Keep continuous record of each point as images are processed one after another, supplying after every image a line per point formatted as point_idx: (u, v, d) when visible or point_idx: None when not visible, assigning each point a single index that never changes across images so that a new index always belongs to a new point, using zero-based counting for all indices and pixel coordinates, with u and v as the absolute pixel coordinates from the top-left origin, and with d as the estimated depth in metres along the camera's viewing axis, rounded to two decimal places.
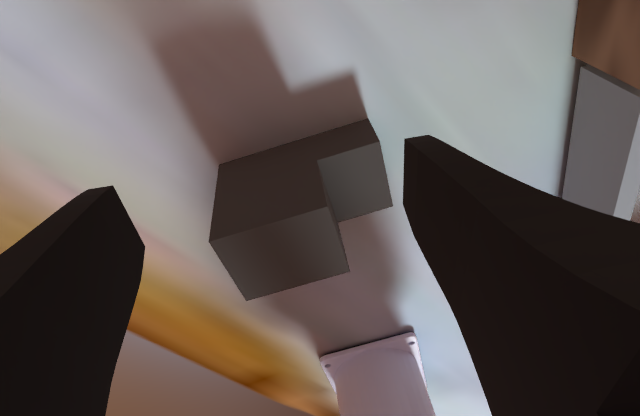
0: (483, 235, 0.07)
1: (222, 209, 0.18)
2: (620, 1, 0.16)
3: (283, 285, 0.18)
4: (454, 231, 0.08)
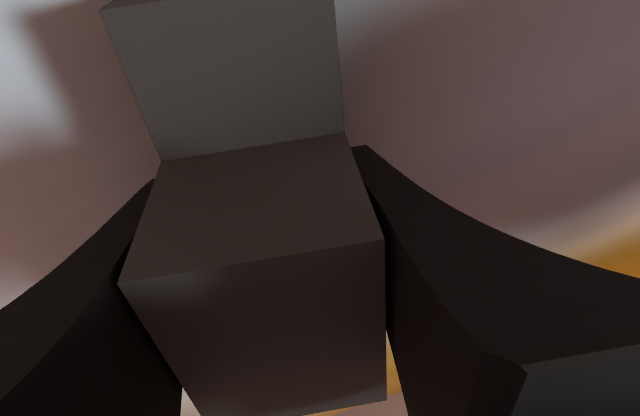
0: (392, 251, 0.07)
1: None
2: None
3: (370, 355, 0.08)
4: None
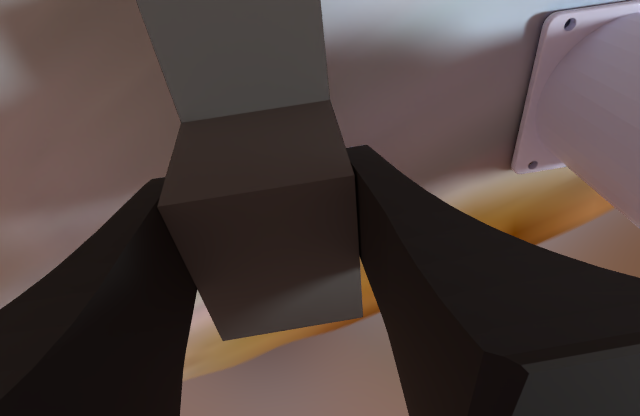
0: (392, 250, 0.07)
1: None
2: None
3: (348, 275, 0.10)
4: (377, 244, 0.08)
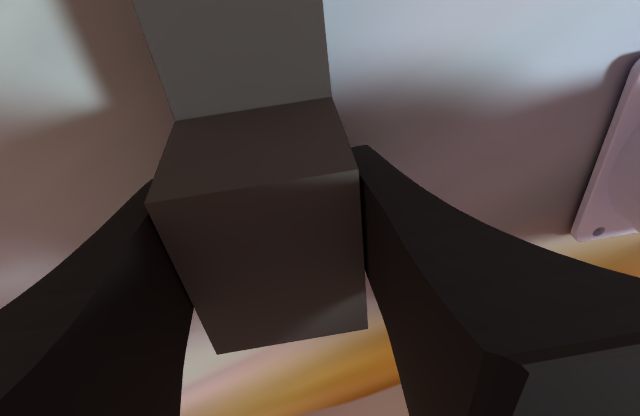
0: (393, 250, 0.07)
1: None
2: None
3: (351, 282, 0.09)
4: (378, 244, 0.08)
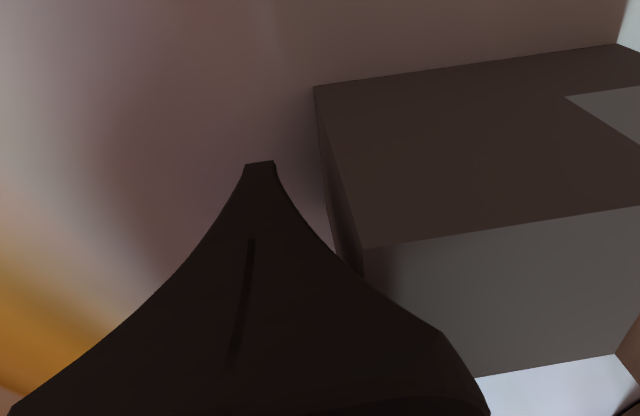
0: None
1: (365, 169, 0.07)
2: None
3: None
4: None
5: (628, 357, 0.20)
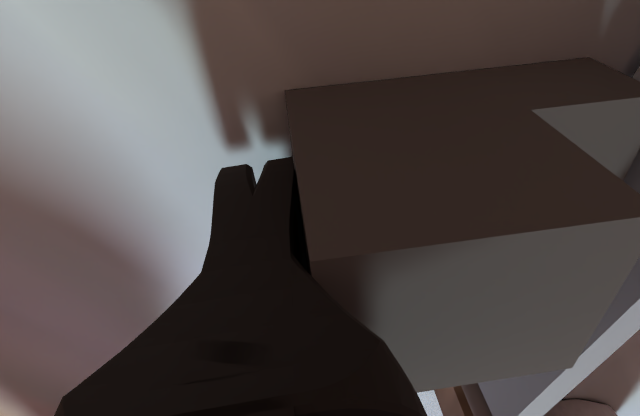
0: None
1: (324, 178, 0.07)
2: None
3: (424, 383, 0.08)
4: None
5: (437, 390, 0.19)
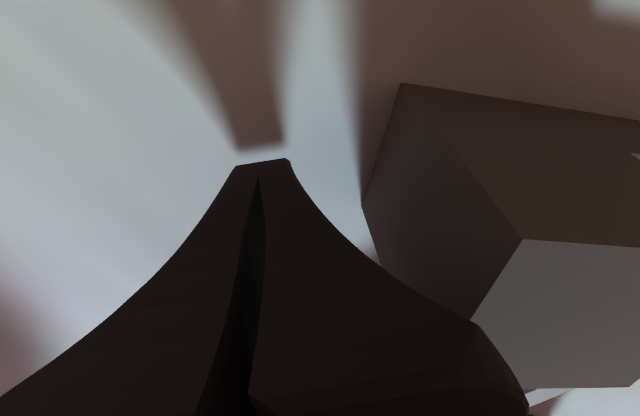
0: None
1: (489, 169, 0.07)
2: None
3: None
4: None
5: None
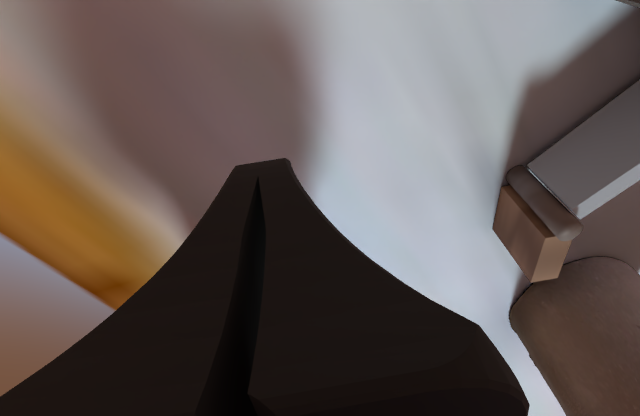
0: None
1: None
2: None
3: None
4: None
5: (499, 228, 0.24)
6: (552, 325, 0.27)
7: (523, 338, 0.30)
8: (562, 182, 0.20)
